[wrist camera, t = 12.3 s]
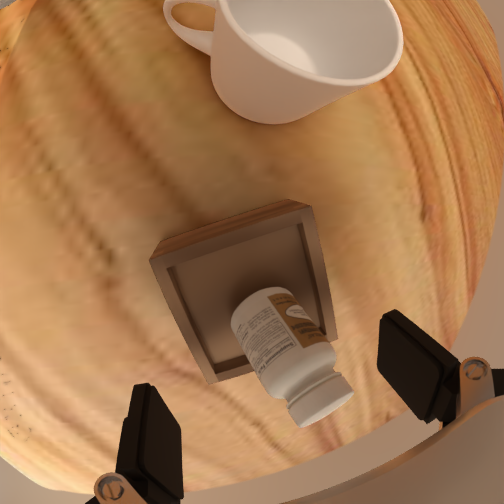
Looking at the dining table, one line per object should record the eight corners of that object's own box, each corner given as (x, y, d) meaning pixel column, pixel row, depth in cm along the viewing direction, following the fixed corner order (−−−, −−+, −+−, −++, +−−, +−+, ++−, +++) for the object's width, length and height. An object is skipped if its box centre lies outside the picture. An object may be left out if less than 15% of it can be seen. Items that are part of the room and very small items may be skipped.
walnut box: (161, 240, 20) (148, 260, 15) (286, 198, 21) (311, 205, 16) (206, 345, 23) (208, 384, 18) (313, 308, 24) (338, 338, 19)
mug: (195, 7, 15) (197, -82, 5) (332, 57, 18) (411, 2, 8) (149, 92, 17) (103, 23, 7) (301, 144, 20) (386, 123, 9)
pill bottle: (300, 298, 19) (368, 387, 14) (252, 338, 19) (308, 429, 14) (270, 273, 16) (354, 384, 10) (214, 321, 16) (276, 436, 11)
